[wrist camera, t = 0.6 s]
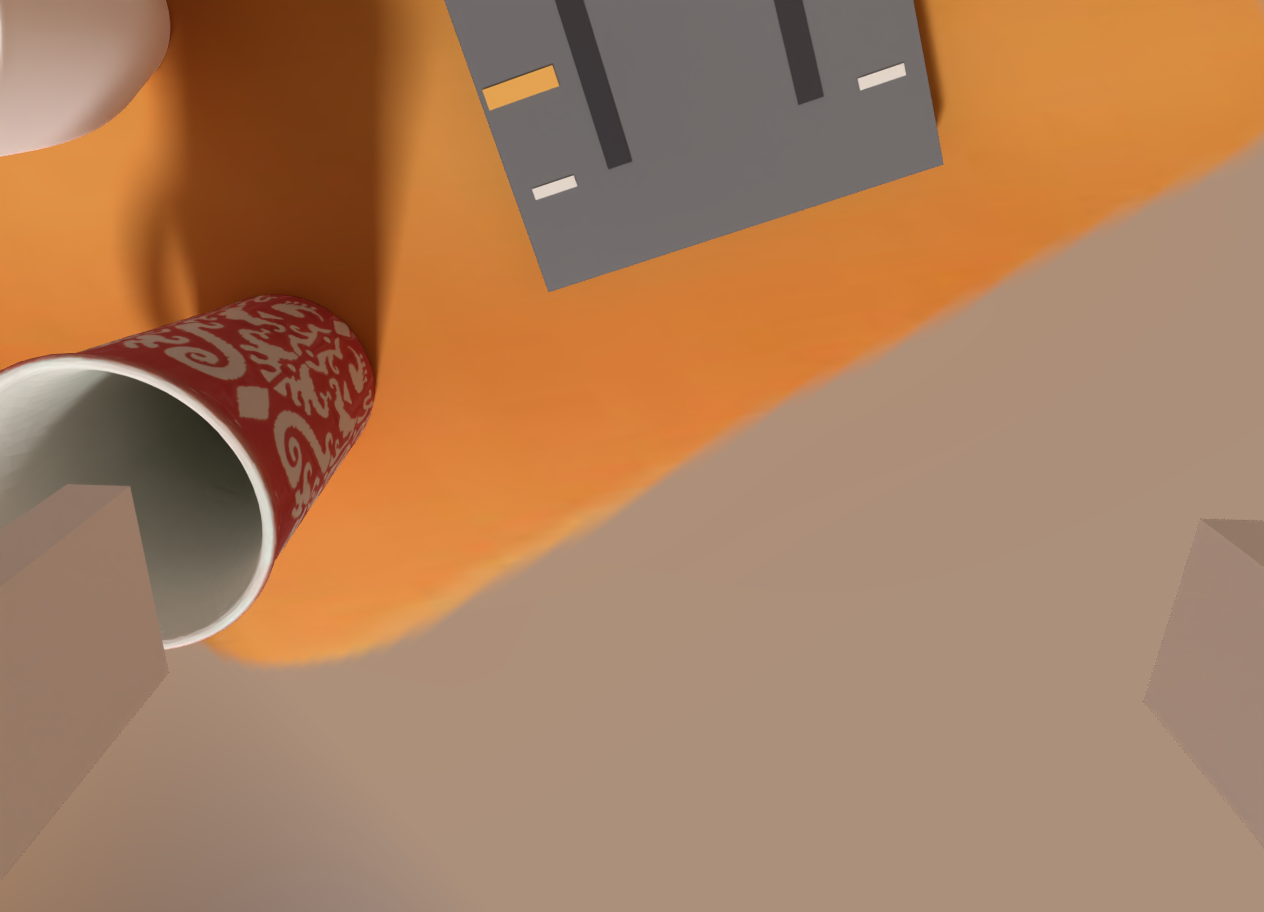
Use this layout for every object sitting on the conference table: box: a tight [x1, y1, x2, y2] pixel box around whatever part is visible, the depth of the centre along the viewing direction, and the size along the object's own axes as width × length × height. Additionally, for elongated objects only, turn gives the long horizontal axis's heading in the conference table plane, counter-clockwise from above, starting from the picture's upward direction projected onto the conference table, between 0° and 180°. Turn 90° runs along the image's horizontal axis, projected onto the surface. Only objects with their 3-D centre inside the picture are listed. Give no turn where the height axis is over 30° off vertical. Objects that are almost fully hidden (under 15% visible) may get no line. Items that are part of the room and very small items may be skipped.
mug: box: [0, 294, 375, 650], centre depth 31 cm, size 13×9×14 cm
